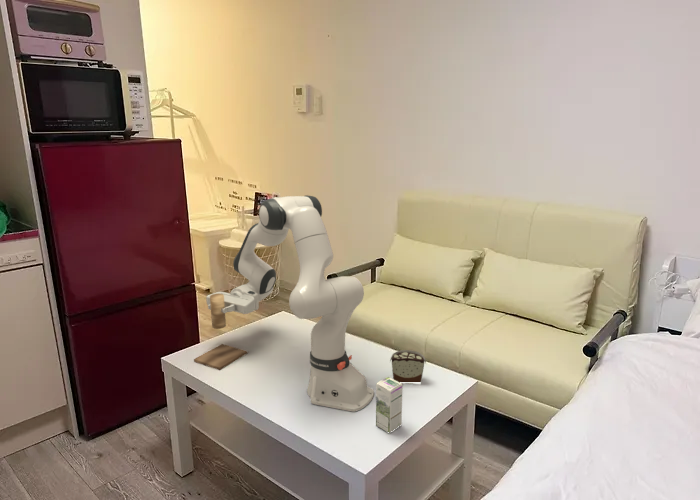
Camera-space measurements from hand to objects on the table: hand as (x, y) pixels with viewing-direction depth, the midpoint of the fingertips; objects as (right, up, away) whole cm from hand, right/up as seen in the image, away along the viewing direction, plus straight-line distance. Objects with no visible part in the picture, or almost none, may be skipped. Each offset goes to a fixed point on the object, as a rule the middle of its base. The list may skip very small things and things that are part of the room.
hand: (216, 309), depth 186 cm
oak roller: (0, -7, +3) cm, 7 cm away
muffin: (+69, -24, -9) cm, 74 cm away
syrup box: (+61, -31, -36) cm, 77 cm away
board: (0, -19, +6) cm, 20 cm away
